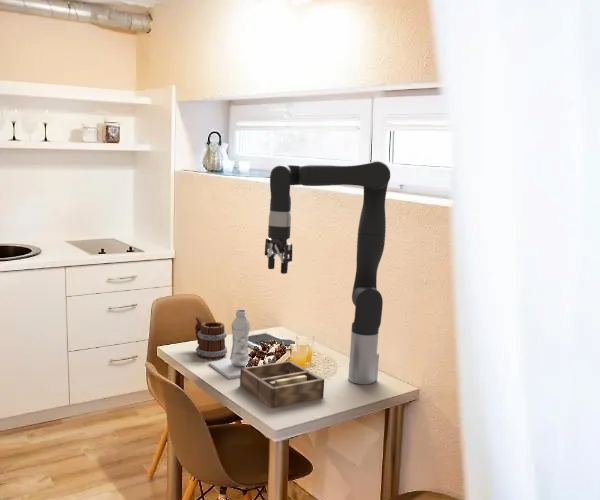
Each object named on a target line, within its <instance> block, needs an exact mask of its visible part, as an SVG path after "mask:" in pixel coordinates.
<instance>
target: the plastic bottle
mask: <svg viewBox="0 0 600 500" xmlns="http://www.w3.org/2000/svg"><path fill="white" fill-rule="evenodd" d="M235 316H236V317H235V318H234V319H233V321H232V323H231V333H232V348H231V353H230V358H229V359H230V360H231V363H232V365H234V366H238V367H243V366H246V365H247V364H248V361H249V357H250V356H249V349H248V348H249V347H248V335H250V334H249V333H250V328H251V325H250V324H251V323H250V322H249V320H248V319H247V316H248V315H247V310H246V309H236V311H235Z"/></svg>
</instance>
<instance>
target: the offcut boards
mask: <svg viewBox="0 0 600 500" xmlns="http://www.w3.org/2000/svg"><path fill="white" fill-rule="evenodd" d="M305 381H307V376H305V375H302V376H296V377H290V378H285V379H279V380H275V381H272V382H269V384H270V385H271V386H273V387H278V386H283V385H289V384H294V383H300V382H305Z"/></svg>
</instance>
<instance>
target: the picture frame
mask: <svg viewBox="0 0 600 500" xmlns="http://www.w3.org/2000/svg"><path fill="white" fill-rule="evenodd" d="M272 339H275V340H276V342H277V344H280V343H281V341H283V342H284V345H285V346H286V347H289V346H290V344H295V342H296V341H295V340H292V339H286V338H283V337H280V336H278V335H276V334H273V333H271V332H268V331H261V332H258V333H257V332H256V333H251V334H248V348H251V349H253V347H254V346H259V345H260V343H261V342H263V343H266V344H267V345H269V344H270V340H272Z"/></svg>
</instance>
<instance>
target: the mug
mask: <svg viewBox="0 0 600 500" xmlns="http://www.w3.org/2000/svg"><path fill="white" fill-rule="evenodd" d="M195 320H196V324H195V327H194V329H195V330H194V331H195V337H196V340H197V345H198V346H197V347H196V348H195V351H196V353H197V356H198V358H201V359H205V360H210V361H211V360H212V361H213V360H220V359H223V358H225V357H226V356H227V353H228V346H226V338H227V332H226V331H225V324H224V323H222V322H220V321H217V322H216V321H206V322H204V321H203V319H202V318H201V317H200V316H198V317H195Z"/></svg>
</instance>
